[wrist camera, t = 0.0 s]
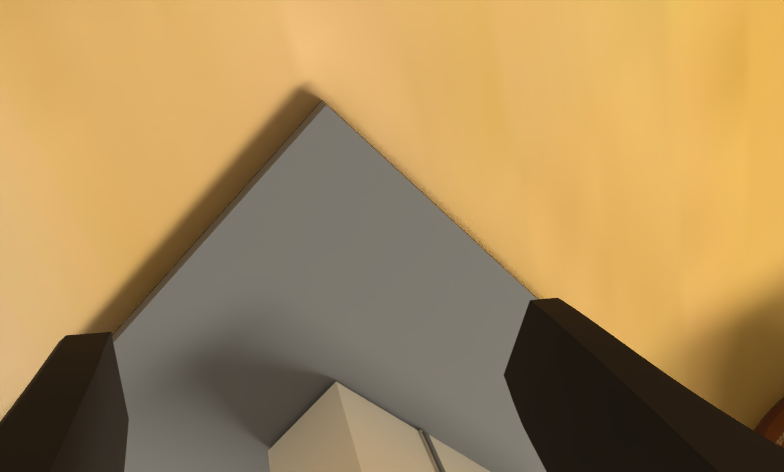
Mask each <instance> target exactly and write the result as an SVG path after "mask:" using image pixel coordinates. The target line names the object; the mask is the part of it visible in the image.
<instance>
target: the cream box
mask: <svg viewBox="0 0 784 472" xmlns="http://www.w3.org/2000/svg"><path fill="white" fill-rule="evenodd" d="M418 433H419V435H420V438H421V440H422V442H423V445H424V447H425V449H426V452H427V454H428V456H429V458H430V461H431V463H432V465H433V468H434V470H435V472H490V471H489V470H487V469H485V468H484V467H482V466H480V465H479V464H477V463H475V462H474V461H472V460H470V459H469V458H467V457H465V456H464V455H462V454H460V453H459V452H457V451H455V450H454V449H452V448H450V447H449V446H447V445H445V444H444V443H442V442H440V441H439V440H437V439H435V438H434V437H432V436H430V435H429V434H428V433H427V432H426V431H422V430H419V431H418Z"/></svg>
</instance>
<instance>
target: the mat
mask: <svg viewBox="0 0 784 472" xmlns="http://www.w3.org/2000/svg"><path fill="white" fill-rule="evenodd" d="M530 300H537V298H536V297H535V296H534V295H533V294H532V293H531V292H530V291H529V290H527V289H526V288H525V287H524V286H523V285H522V284H521V283H520V282H519V281H518V280H517V279H516V278H514V277H513V276H512V275H511V274H510V273H509V272H508V271H507V270H506V269H505V268H504V267H503V266H501V265H500V264H499V263H498V262H497V261H496V260H495V259H494V258H493V257H492V256H491V255H490V254H488V253H487V252H486V251H485V250H484V249H483V248H482V247H481V246H480V245H479V244H478V243H477V242H475V241H474V240H473V239H472V238H471V237H470V236H469V235H468V234H467V233H466V232H465V231H464V230H462V229H461V228H460V227H459V226H458V225H457V224H456V223H455V222H454V221H453V220H452V219H451V218H449V217H448V216H447V215H446V214H445V213H444V212H443V211H442V210H441V209H440V208H439V207H438V206H436V205H435V204H434V203H433V202H432V201H431V200H430V199H429V198H428V197H427V196H426V195H425V194H423V193H422V192H421V191H420V190H419V189H418V188H417V187H416V186H415V185H414V184H413V183H412V182H410V181H409V180H408V179H407V178H406V177H405V176H404V175H403V174H402V173H401V172H400V171H399V170H397V169H396V168H395V167H394V166H393V165H392V164H391V163H390V162H389V161H388V160H387V159H386V158H384V157H383V156H382V155H381V154H380V153H379V152H378V151H377V150H376V149H375V148H374V147H373V146H371V145H370V144H369V143H368V142H367V141H366V140H365V139H364V138H363V137H362V136H361V135H360V134H358V133H357V132H356V131H355V130H354V129H353V128H352V127H351V126H350V125H349V124H348V123H347V122H345V121H344V120H343V119H342V118H341V117H340V116H339V115H338V114H337V113H336V112H335V111H334V110H332V109H331V108H330V107H329V106H328V105H327V104H326V103H325V102H324V101H323V100H322V101H321V102H320V103H319V104H318V106H317V107H316V108H315V109H314V110H313V111H312V112H311V113H310V115H309V116H308V117H307V118H306V119H305V120H304V121H303V122H302V124H301V125H300V126H299V127H298V128H297V129H296V130H295V131H294V132H293V134H292V135H291V136H290V137H289V138H288V139H287V140H286V141H285V143H284V144H283V145H282V146H281V147H280V148H279V149H278V150H277V152H276V153H275V154H274V155H273V156H272V157H271V158H270V159H269V161H268V162H267V163H266V164H265V165H264V166H263V167H262V168H261V169H260V171H259V172H258V173H257V174H256V175H255V176H254V177H253V178H252V180H251V181H250V182H249V183H248V184H247V185H246V186H245V187H244V189H243V190H242V191H241V192H240V193H239V194H238V195H237V196H236V197H235V199H234V200H233V201H232V202H231V203H230V204H229V205H228V206H227V208H226V209H225V210H224V211H223V212H222V213H221V214H220V215H219V217H218V218H217V219H216V220H215V221H214V222H213V223H212V224H211V226H210V227H209V228H208V229H207V230H206V231H205V232H204V233H203V234H202V236H201V237H200V238H199V239H198V240H197V241H196V242H195V243H194V245H193V246H192V247H191V248H190V249H189V250H188V251H187V252H186V254H185V255H184V256H183V257H182V258H181V259H180V260H179V261H178V263H177V264H176V265H175V266H174V267H173V268H172V269H171V270H170V271H169V273H168V274H167V275H166V276H165V277H164V278H163V279H162V280H161V282H160V283H159V284H158V285H157V286H156V287H155V288H154V289H153V291H152V292H151V293H150V294H149V295H148V296H147V297H146V298H145V300H144V301H143V302H142V303H141V304H140V305H139V306H138V307H137V308H136V310H135V311H134V312H133V313H132V314H131V315H130V316H129V317H128V319H127V320H126V321H125V322H124V323H123V324H122V325H121V326H120V328H119V329H118V330H117V331H116V332H115V333H114V334H113V335H112V339H113V344H114V349H115V354H116V359H117V364H118V369H119V373H120V378H121V383H122V388H123V393H124V398H125V403H126V408H127V413H128V417H129V424H128V435H127V447H126V458H125V468H124V472H270V468H269V458H268V450H269V449H270V448H271V447H272V446H273V445H274V444H275V443H276V442H277V441H278V440H279V439H280V438H281V437H282V436H283V435H284V434H285V433H286V432H287V431H288V430H289V429H290V428H291V427H292V426H293V425H294V424H295V423H296V422H297V421H298V420H299V419H300V418H301V417H302V416H303V415H304V414H305V413H306V412H307V411H308V410H309V409H310V408H311V407H312V406H313V405H314V404H315V403H316V401H317V400H318V399H319V398H320V397H321V396H322V395H323V394H324V393H325V392H326V391H327V390H328V389H329V388H330V387H331V386H332V385H333V384H334V383H335V382H338V383H339V384H341V385H343V386H344V387H346V388H348V389H349V390H351V391H353V392H355V393H356V394H358V395H360V396H361V397H363V398H365V399H366V400H368V401H370V402H371V403H373V404H375V405H376V406H378V407H380V408H381V409H383V410H385V411H386V412H388V413H390V414H391V415H393V416H395V417H396V418H398V419H400V420H401V421H403V422H405V423H406V424H408V425H410V426H411V427H413V428H415V429H416V430H417V431H419V430H422V431H426V432H427V433H428V434H429V435H430V436H432V437H434V438H435V439H437V440H439V441H440V442H442V443H444V444H445V445H447V446H449V447H450V448H452V449H454V450H455V451H457V452H459V453H460V454H462V455H464V456H465V457H467V458H469V459H470V460H472V461H474V462H475V463H477V464H479V465H480V466H482V467H484V468H485V469H487V470H489V471H490V472H546V470H545V468H544V466H543V464H542V462H541V460H540V458H539V456H538V455H537V453H536V451H535V449H534V447H533V445H532V443H531V441H530V439H529V437H528V435H527V433H526V431H525V429H524V427H523V425H522V423H521V421H520V418H519V415H518V413H517V410H516V408H515V405H514V403H513V400H512V397H511V394H510V392H509V389H508V386H507V383H506V380H505V377H504V372H505V369H506V367H507V364H508V361H509V358H510V355H511V352H512V350H513V347H514V344H515V341H516V338H517V335H518V333H519V330H520V327H521V324H522V321H523V318H524V315H525V313H526V310H527V307H528V304H529V301H530Z"/></svg>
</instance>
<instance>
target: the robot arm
mask: <svg viewBox="0 0 784 472" xmlns="http://www.w3.org/2000/svg"><path fill="white" fill-rule="evenodd" d="M504 377H505V380H506V383H507V386H508V389H509V392H510V394H511V397H512V400H513V403H514V405H515V408H516V410H517V413H518V415H519V418H520V421H521V423H522V425H523V427H524V429H525V431H526V433H527V435H528V437H529V439H530V441H531V443H532V445H533V447H534V449H535V451H536V453H537V455H538V456H539V458H540V460H541V462H542V464H543V466H544V468H545V470H546V472H784V448H782V447H781V446H779V445H777V444H775V443H774V442H772V441H770V440H769V439H767V438H765V437H763V436H762V435H760V434H758V433H756V432H755V431H753V430H751V429H750V428H748V427H746V426H745V425H743V424H742V423H740V422H738V421H737V420H735V419H733V418H732V417H730V416H729V415H727V414H726V413H724V412H723V411H721V410H719V409H718V408H716V407H715V406H713V405H712V404H710V403H709V402H707V401H706V400H704V399H702V398H701V397H699V396H698V395H696V394H695V393H693V392H692V391H690V390H689V389H687V388H686V387H684V386H683V385H681V384H680V383H679V382H677V381H676V380H674V379H673V378H671V377H670V376H668V375H667V374H666V373H664V372H663V371H661V370H660V369H658V368H657V367H656V366H654V365H653V364H651V363H650V362H648V361H647V360H646V359H644V358H643V357H641V356H640V355H639V354H637V353H636V352H635V351H633V350H632V349H630V348H629V347H628V346H626V345H625V344H623V343H622V342H621V341H619V340H618V339H616V338H615V337H614V336H612V335H611V334H610V333H608V332H607V331H605V330H604V329H603V328H601V327H600V326H599V325H597V324H596V323H594V322H593V321H591V320H590V319H589V318H587V317H586V316H584V315H583V314H582V313H580V312H579V311H577V310H576V309H574V308H573V307H571V306H570V305H568V304H567V303H565V302H564V301H562V300H561V299H559V298H550V299H537V300H530V301H529V304H528V307H527V310H526V313H525V315H524V318H523V321H522V324H521V327H520V330H519V333H518V335H517V338H516V341H515V344H514V347H513V350H512V352H511V355H510V358H509V361H508V364H507V367H506V369H505V372H504ZM128 424H129V417H128V413H127V408H126V403H125V398H124V393H123V388H122V383H121V378H120V373H119V369H118V364H117V359H116V354H115V349H114V344H113V339H112V334H111V332H106V333H93V334H80V335H67V336H65V337H64V338H63V339H62V340H61V341H60V342H59V343H58V344H57V346H56V347H55V348H54V350H53V351H52V353H51V354H50V356H49V357H48V358H47V360H46V361H45V363H44V364H43V365H42V367H41V368H40V370H39V371H38V372H37V374H36V375H35V376H34V378H33V379H32V381H31V382H30V383H29V385H28V386H27V387H26V389H25V390H24V391H23V393H22V394H21V395H20V397H19V398H18V399H17V401H16V402H15V403H14V405H13V406H12V407H11V409H10V410H9V411H8V413H7V414H6V415H5V416H4V418H3V419H2V420H1V422H0V472H124V468H125V458H126V447H127V435H128Z"/></svg>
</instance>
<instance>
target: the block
mask: <svg viewBox="0 0 784 472" xmlns="http://www.w3.org/2000/svg"><path fill="white" fill-rule="evenodd" d="M268 458H269V468H270V472H435V470H434V468H433V465H432V463H431V461H430V458H429V456H428V454H427V452H426V449H425V447H424V445H423V442H422V440H421V438H420V435H419V433H418V431H417V430H416V429H415V428H413V427H411V426H410V425H408V424H406V423H405V422H403V421H401V420H400V419H398V418H396V417H395V416H393V415H391V414H390V413H388V412H386V411H385V410H383V409H381V408H380V407H378V406H376V405H375V404H373V403H371V402H370V401H368V400H366V399H365V398H363V397H361V396H360V395H358V394H356V393H355V392H353V391H351V390H349V389H348V388H346V387H344V386H343V385H341V384H339V383H338V382H335V383H334V384H333V385H332V386H331V387H330V388H329V389H328V390H327V391H326V392H325V393H324V394H323V395H322V396H321V397H320V398H319V399H318V400H317V401H316V403H315V404H314V405H313V406H312V407H311V408H310V409H309V410H308V411H307V412H306V413H305V414H304V415H303V416H302V417H301V418H300V419H299V420H298V421H297V422H296V423H295V424H294V425H293V426H292V427H291V428H290V429H289V430H288V431H287V432H286V433H285V434H284V435H283V436H282V437H281V438H280V439H279V440H278V441H277V442H276V443H275V444H274V445H273V446H272V447H271V448H270V449H269V450H268Z"/></svg>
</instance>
